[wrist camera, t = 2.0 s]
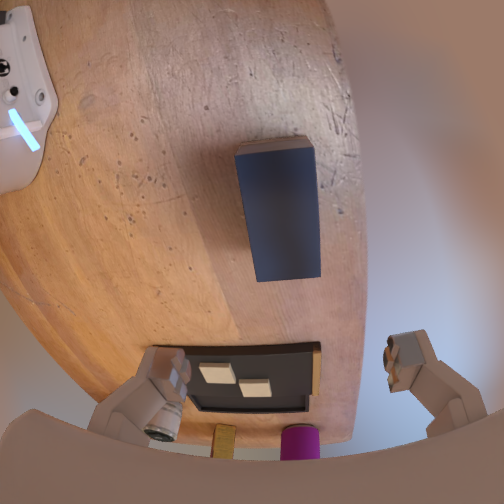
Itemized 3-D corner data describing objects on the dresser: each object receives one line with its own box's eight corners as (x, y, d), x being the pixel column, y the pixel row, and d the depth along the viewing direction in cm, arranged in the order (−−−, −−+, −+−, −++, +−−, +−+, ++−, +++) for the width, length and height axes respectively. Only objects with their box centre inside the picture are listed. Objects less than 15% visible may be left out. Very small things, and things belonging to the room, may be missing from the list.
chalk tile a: (199, 362, 34) (198, 367, 33) (230, 362, 33) (229, 367, 33) (208, 378, 36) (207, 383, 35) (236, 378, 36) (235, 383, 35)
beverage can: (317, 434, 50) (318, 483, 40) (282, 435, 51) (280, 484, 41) (319, 421, 46) (321, 476, 36) (280, 423, 47) (278, 479, 37)
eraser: (260, 251, 26) (256, 282, 22) (241, 142, 21) (233, 155, 17) (314, 246, 25) (320, 277, 21) (306, 135, 20) (314, 146, 16)
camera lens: (145, 395, 45) (134, 430, 39) (168, 393, 43) (157, 431, 37) (167, 410, 48) (158, 443, 42) (190, 408, 46) (182, 444, 40)
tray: (187, 387, 41) (185, 392, 40) (308, 386, 38) (309, 392, 37) (200, 406, 45) (199, 411, 44) (308, 406, 42) (308, 411, 41)
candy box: (231, 438, 54) (224, 496, 41) (212, 435, 54) (203, 493, 41) (238, 426, 49) (230, 493, 36) (217, 422, 49) (206, 489, 36)
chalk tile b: (239, 378, 36) (238, 383, 35) (268, 378, 35) (268, 383, 34) (244, 392, 38) (243, 397, 37) (271, 392, 37) (271, 396, 36)
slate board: (152, 344, 35) (148, 355, 34) (320, 341, 32) (321, 353, 31) (179, 386, 41) (176, 395, 40) (318, 385, 38) (318, 395, 37)
